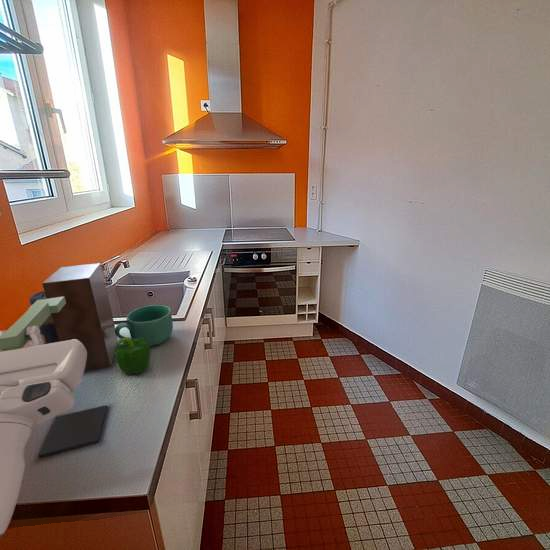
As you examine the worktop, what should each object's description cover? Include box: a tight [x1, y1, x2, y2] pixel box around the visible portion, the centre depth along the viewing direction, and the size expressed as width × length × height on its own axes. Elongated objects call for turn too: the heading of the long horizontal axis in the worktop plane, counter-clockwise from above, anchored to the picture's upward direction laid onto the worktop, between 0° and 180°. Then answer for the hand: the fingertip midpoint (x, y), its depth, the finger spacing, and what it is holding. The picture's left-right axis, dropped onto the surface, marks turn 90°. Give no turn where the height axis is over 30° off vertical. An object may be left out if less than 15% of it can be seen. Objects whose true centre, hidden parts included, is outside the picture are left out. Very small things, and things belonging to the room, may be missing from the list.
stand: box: [41, 262, 119, 372], centre depth 84 cm, size 10×14×26 cm
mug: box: [115, 304, 174, 347], centre depth 93 cm, size 17×12×10 cm
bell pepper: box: [114, 337, 151, 375], centre depth 80 cm, size 8×8×10 cm
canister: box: [29, 290, 59, 345], centre depth 93 cm, size 10×10×18 cm
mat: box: [37, 404, 108, 458], centre depth 62 cm, size 10×10×1 cm
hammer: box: [0, 297, 66, 352], centre depth 56 cm, size 19×5×2 cm, turn 19°
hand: (20, 330), depth 51 cm, fingers closed on hammer, 2 cm apart
